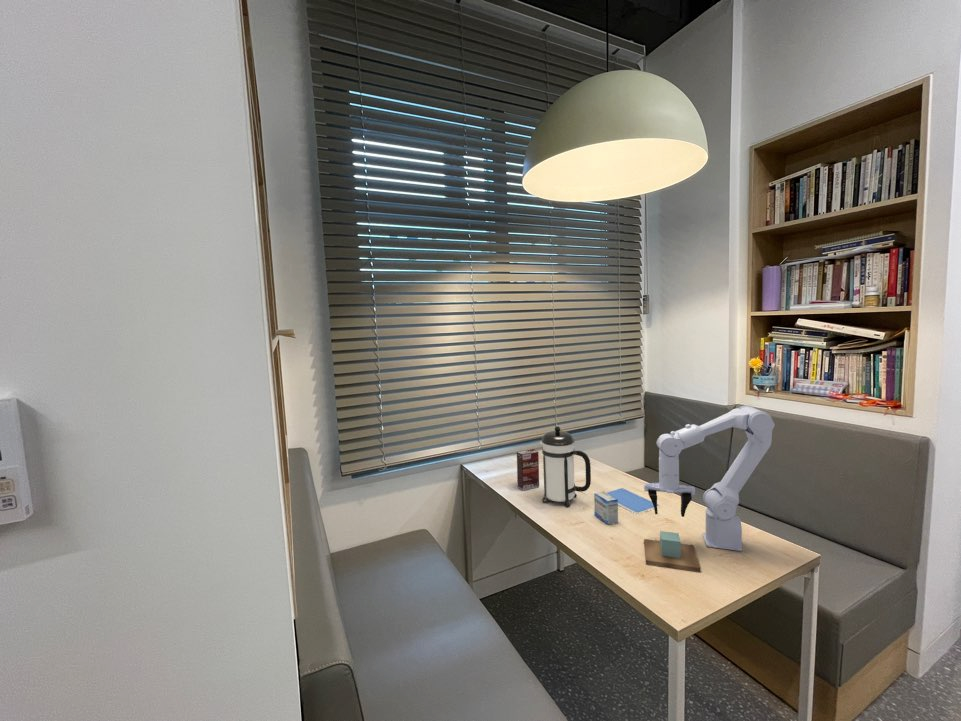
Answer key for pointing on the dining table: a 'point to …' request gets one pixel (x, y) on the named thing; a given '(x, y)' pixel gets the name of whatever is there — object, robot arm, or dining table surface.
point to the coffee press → (561, 467)
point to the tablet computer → (631, 501)
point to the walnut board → (685, 562)
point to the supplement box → (527, 469)
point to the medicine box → (606, 507)
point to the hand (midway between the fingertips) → (669, 514)
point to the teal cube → (670, 544)
